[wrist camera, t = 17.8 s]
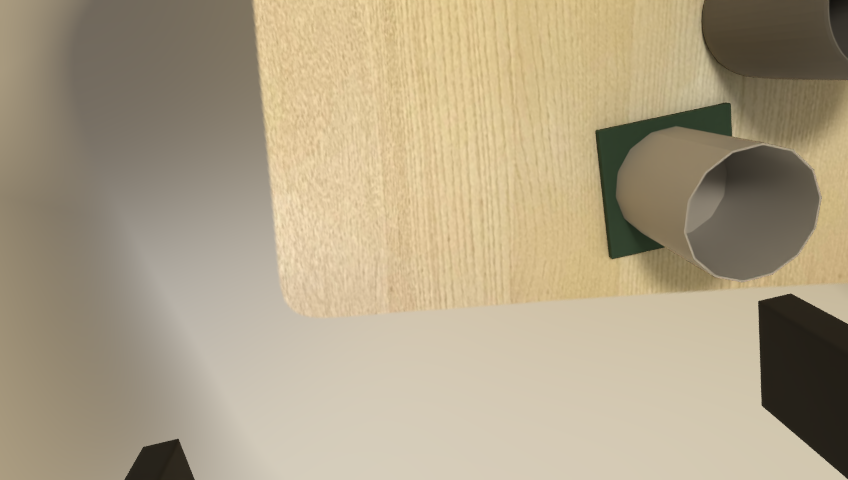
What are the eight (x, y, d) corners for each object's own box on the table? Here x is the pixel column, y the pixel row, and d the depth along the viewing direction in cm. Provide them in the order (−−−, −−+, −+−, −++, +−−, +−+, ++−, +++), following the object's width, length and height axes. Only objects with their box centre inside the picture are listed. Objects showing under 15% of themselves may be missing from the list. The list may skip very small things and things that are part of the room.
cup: (714, 235, 45) (806, 279, 36) (612, 238, 45) (677, 285, 35) (729, 125, 43) (832, 141, 33) (621, 127, 42) (694, 144, 33)
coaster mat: (609, 256, 46) (612, 259, 45) (595, 130, 43) (598, 131, 42) (731, 229, 46) (736, 231, 46) (726, 102, 43) (730, 103, 43)
